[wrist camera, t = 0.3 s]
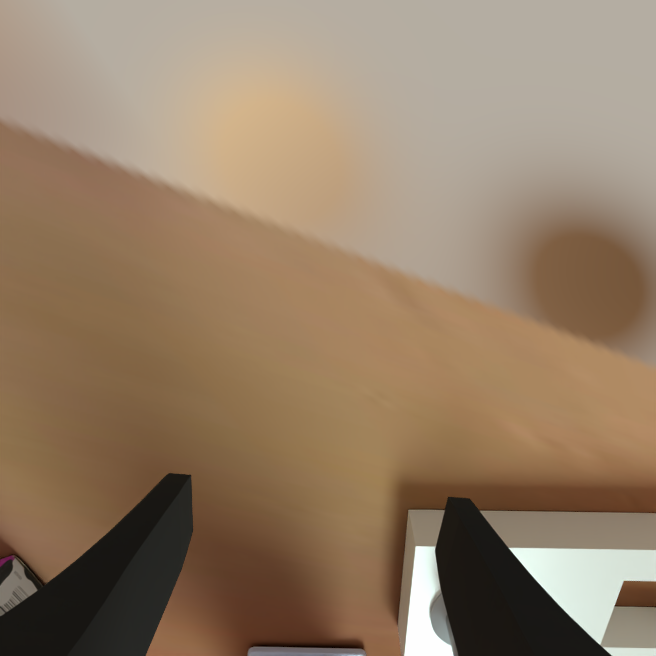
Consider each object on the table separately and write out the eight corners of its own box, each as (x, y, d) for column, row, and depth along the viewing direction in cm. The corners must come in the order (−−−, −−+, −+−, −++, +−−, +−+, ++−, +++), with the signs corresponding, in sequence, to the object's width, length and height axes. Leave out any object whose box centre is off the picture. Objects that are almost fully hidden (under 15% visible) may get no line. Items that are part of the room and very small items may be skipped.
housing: (674, 631, 29) (756, 747, 23) (397, 626, 29) (412, 739, 23) (727, 514, 25) (840, 620, 19) (408, 509, 25) (428, 612, 19)
